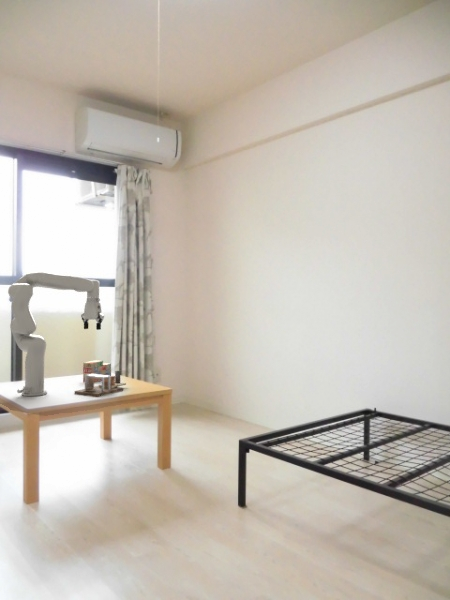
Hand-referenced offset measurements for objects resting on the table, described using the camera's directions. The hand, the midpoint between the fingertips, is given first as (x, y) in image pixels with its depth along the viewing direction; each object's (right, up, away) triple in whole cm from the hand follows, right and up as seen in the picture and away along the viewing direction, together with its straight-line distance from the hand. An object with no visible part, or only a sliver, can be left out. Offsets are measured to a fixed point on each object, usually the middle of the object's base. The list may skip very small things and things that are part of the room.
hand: (92, 329), depth 282 cm
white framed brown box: (+15, -32, -10) cm, 36 cm away
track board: (+9, -34, -20) cm, 40 cm away
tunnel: (+9, -32, -21) cm, 39 cm away
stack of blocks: (-2, -34, +19) cm, 39 cm away
